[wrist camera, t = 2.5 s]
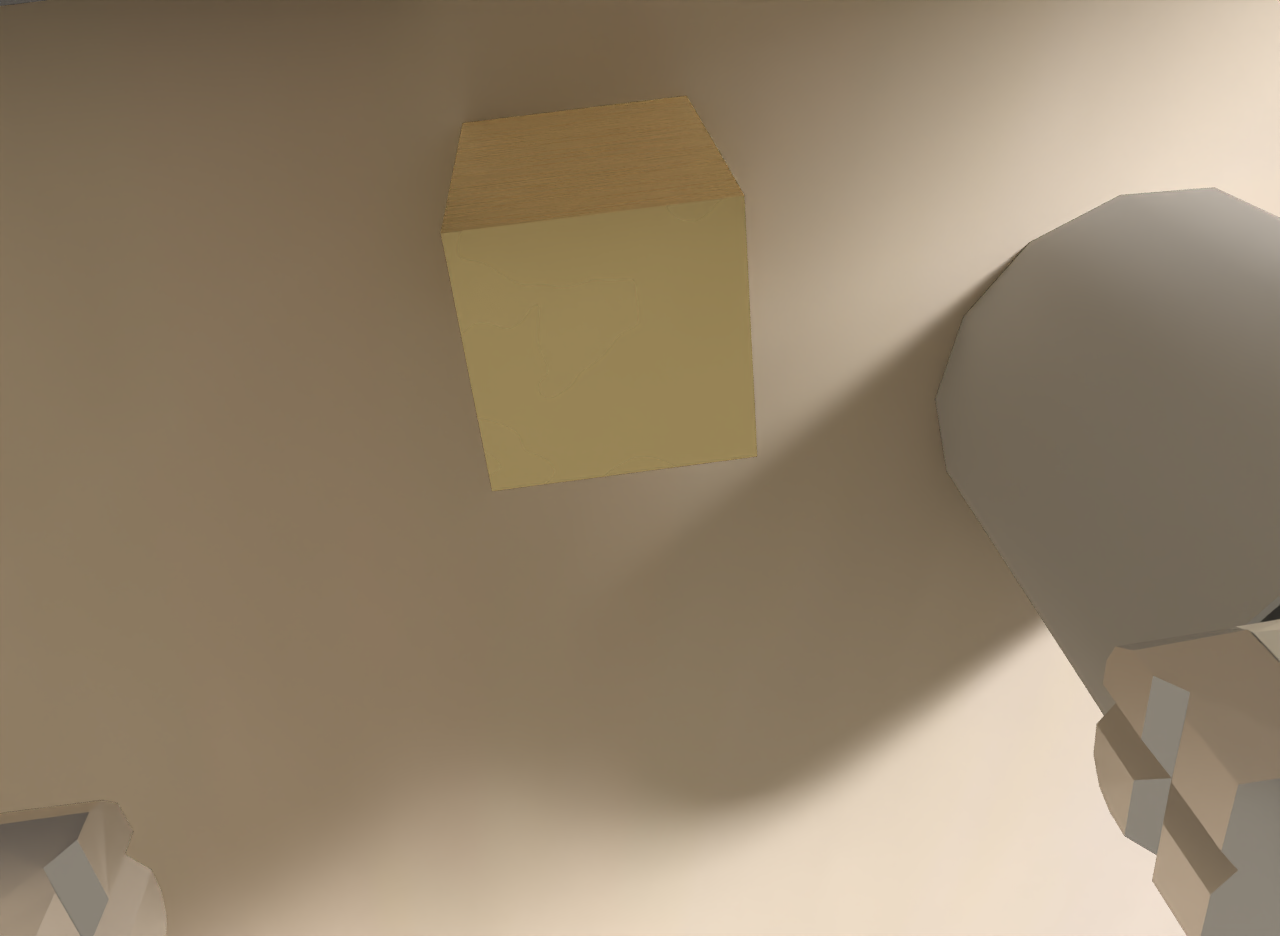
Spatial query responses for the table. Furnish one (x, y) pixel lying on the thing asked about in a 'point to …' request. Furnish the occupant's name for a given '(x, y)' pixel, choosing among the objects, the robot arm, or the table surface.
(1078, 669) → the cup
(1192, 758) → the robot arm
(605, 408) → the block
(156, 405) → the table surface
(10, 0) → the rail
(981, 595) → the table surface
